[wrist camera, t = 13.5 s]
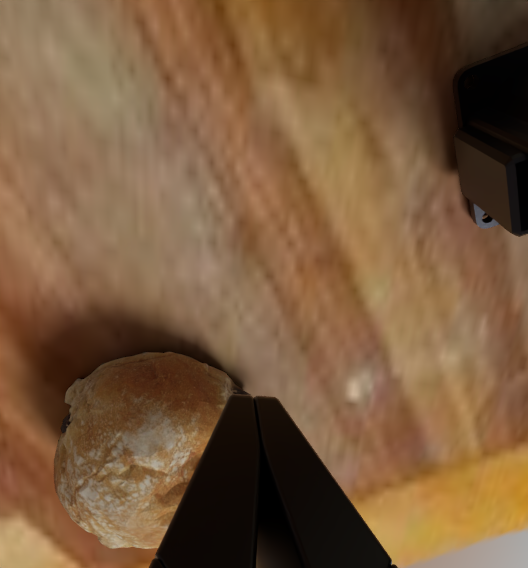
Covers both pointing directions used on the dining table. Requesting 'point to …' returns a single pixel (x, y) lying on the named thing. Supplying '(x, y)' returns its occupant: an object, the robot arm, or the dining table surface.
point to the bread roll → (136, 443)
